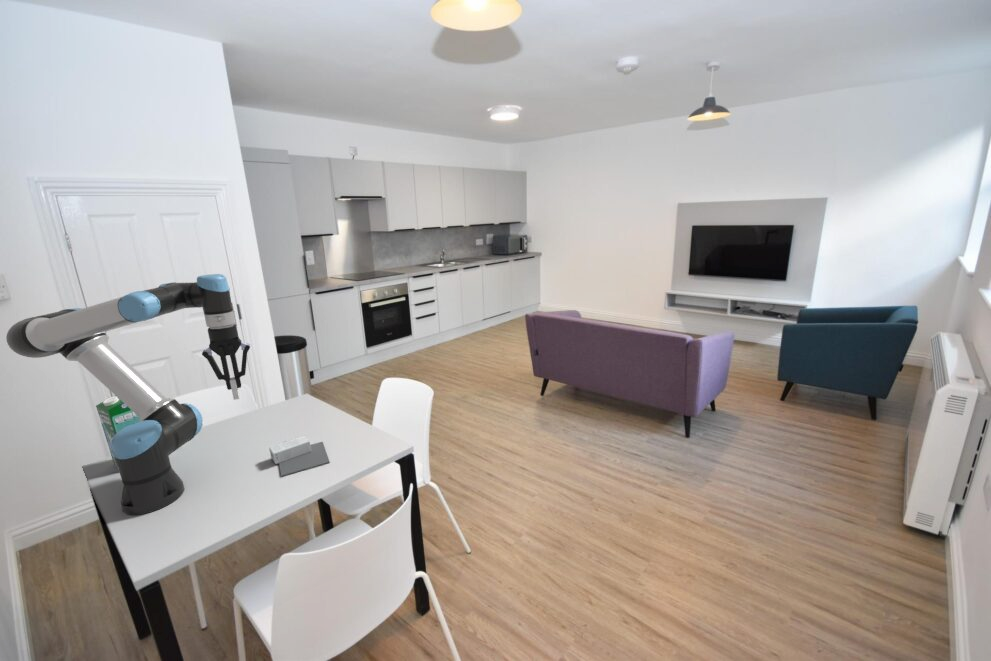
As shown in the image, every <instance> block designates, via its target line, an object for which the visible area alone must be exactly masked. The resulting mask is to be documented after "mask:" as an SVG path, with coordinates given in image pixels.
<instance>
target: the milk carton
mask: <svg viewBox="0 0 991 661" xmlns="http://www.w3.org/2000/svg"><path fill="white" fill-rule="evenodd" d="M95 407H96V410H97V415H98V418H99V420H100V424H101V427H102V430H103V433H104V436H105V438H106V439H105V440H106V442H107V446H108V449H109V454H110V456H111V459H112V463H113V465H115V466H116V467H118V466H117V463H116V460H115V457H114V455H113V453H112V444H111V442H112V439H113V437H114V436H115V434H116V433H118V432H119V431H120V430H122V429H123V428H125V427H127V426H129V425H133V424H135V423H137V422H139V416H138V415H136V414H135V413H134V412H133V411H132V410H131V409H130V408H129V407H128V406H127V405H125V404H124V403H123V402H122V401H121V400H120V399H119V398H118V397H117V396H116V395H113V396H111V397H108V398H106V399H104V401H102V402H100V403H98V404H97V405H95Z"/></svg>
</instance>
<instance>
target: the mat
mask: <svg viewBox="0 0 991 661" xmlns="http://www.w3.org/2000/svg"><path fill="white" fill-rule="evenodd" d="M310 446H311V452H308V453H305V454H303V455H300V456H297V457H294V458H292V459H289V460H286V461H283V462H281V463H278V464H279V470H280V477H281V478H284V477H286V476H290V475H294V474H297V473H300V472H303V471H308V470H310V469H315V468H317V467H321V466H323V465H328V464H330V463H331V462H330V459H329V456H328V454H327V451H326V447H325V445H324V442H323V441H320V442H315V443H313V444H311V443H310Z"/></svg>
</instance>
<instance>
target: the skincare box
mask: <svg viewBox="0 0 991 661" xmlns="http://www.w3.org/2000/svg"><path fill="white" fill-rule="evenodd" d="M310 445H311V442H310V440H309V439H308V438H307V437H306V436H305V435H302V436H299V437H296V438H293V439H290V440H287V441H284V442H281V443H278V444H275V445H272V446H269V447H268V448H269V453H270V458H271V459H272V460H273V462H274V464H275V465H277V464H279V463H281V462H283V461H286V460H289V459H292V458H294V457H297V456H300V455H303V454H305V453H308V452H311V446H310Z"/></svg>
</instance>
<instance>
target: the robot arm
mask: <svg viewBox="0 0 991 661" xmlns="http://www.w3.org/2000/svg"><path fill="white" fill-rule="evenodd" d="M231 298H232V297H231V292H230V287H229V283H228V280H227V277H226V275H224V274H222V273H214V274H202V275H199V276H197V277H196V281H194V282H173V281H172V282H168V283H162V284H160V285H159V286H157V287H155V288H149V289H145V290H139V291H138V290H137V291H133V292H129V293H127V294H125V295H123V296H120V297H117V298H113V299H111V300H107V301H103V302H100V303H96V304H94V305H90V306H87V307H84V308H81V307H73V308H66V309H65V308H64V309H62V310H59V311H55V312H51V313H47V314H43V315H42V314H41V315H37V316H31V317H28V318H25V319H22V320H20V321H18V322H16V323H14V324H13V325H12V326H11V327H10V328H9V329H8V331H7V333H6V337H5V338H6V343H7V346H8V347H9V348H10V349H11V351H13V352H14V353H16V354H18V355H20V356H23V357H26V358H32V359H34V358H37V359H39V358H45V357H49V356H55V355H58V354H60V355H62V357H64V358H65V360H67V361H69V362H70V361H71V362H78V363H79V364H81V365H82V367H83V368H85V369H86V370H87V371H88V372H89V373H91V375H93V376H94V377H95V378H96V379H97V380H98V381H99V382H100V383H101V384H103V385H104V387H106V388H107V389H108V391H110V392H111V393H112V394H113V396H115V395H116V396H117V397H118V398H119V399H120V400H121V401H122V402H123V403H124V404H125V405H127V406H128V407H129V408H130V409H131V410H132V411H133V412H134V413H135V414H136V415H138V416H139V422H137V423H135V424H133V425H129V426H127V427H125V428H123V429H122V430H120V431H119V432H118V433H116V434H115V436H114V437H113V439H112V442H111V444H112V453H113V455H114V457H115V460H116V463H117V466H116V467H117V469H118V473H119V475H120V479H121V481H122V492H121V500H120V506H121V508H122V509H121V510H122V511H123V513H124V514H126V515H130V516H137V515H138V516H139V515H143V514H149V513H151V512H155V511H158V510H160V509H162V508H165V507H167V506H169V505H171V504H172V503H174V502H175V501H176V500H178V499H179V498H181V496H182V495H183V494H184V493H185V485H184V482H183V480H182V478H181V477H180V476H179V475H178V474H177V473H176V471H175V470H174V468H173V467H172V464H171V461H170V455H172V453H174V452H176V451H177V450H178V449H180V448H181V447H182V446H183V445H186V444H187V443H189V442H190V441H191V440H193V439H194V438H195V436H197V435H198V434H199V433H200V432H201V430H202V428H203V421H204V420H203V416H202V413H201V411H200V410H199V409H198V408H197V407H196V406H194V405H193V404H191V403H180V402H179V401H178V400H176V399H175V398H167V397H165V396H164V395H163V394H162V393H161V392H160V391H159V390H158V389H157V388H156V387H155V386H153V385H152V384H151V382H150V381H148V380H147V379H146V378H145V377H144V376H143V375H142V374H141V372H139V371H137V369H135V368H134V367H133V365H131V364H130V363H129V362H128V361H127V360H126V359H125V358H124V357H123V356H122V355H121V354H120V353H119V352H117V351H116V350H115V349H114V348H113V347H112V346H111V345H110V344H109V339H110V338H109V336H108V334H107V332H109V331H112V330H115V329H119V328H122V327H123V328H124V327H126V326H130V325H132V324H136V323H140V322H145V321H146V322H147V321H148V320H152V319H155V318H156V317H160V316H164V315H167V314H170V313H174V312H177V311H179V310H180V311H181V310H184V309H189V308H190V309H191V308H192V309H193V308H202V310H203V311H202V312H203V315H204V320H205V324H206V325H205V326H206V327H207V334H208V338H209V345H208V347H207V348H206V349H204V350H202V351H201V352H202V353H201V355H202V356H203V357H204V358H205V359H206V360H207V362H208V363H209V366H210V367H211V369H212V371H213V373H214V374H215V376H216V378H217V380H219V381H221V380H223V381H225V385H226V389H227V390H229V391H230V390H231V393H232V398H233V400H234V401H237V400H239V399H240V392H239V389H240V388H241V387H242V381H241V377H244V376H245V375H246V371H247V370H246V369H247V359H248V352H249V350H250V348H251V344H250V343H245V342H242V340H241V338H240V337H239V333H238V329H237V328H238V327H237V325H236V322H237V321H236V318H235V317H236V316H235V312H234V309H233V304H232V299H231ZM240 347H241V351H242V358H241V368H240V369H241V370H240V369H239V367H238V365H239V364H238V362H237V357H236V353H237V352H238V351H239V349H240ZM213 353H214V354H216V355H217V356H219V357H220V362H221V366H222V371H223V373H222V371H221V369H220V367H219V365H218V363H217V361H216V360H215V358H214V356H213ZM227 356H229V358H230V362H231V366H232V372H233V377H231V375H230V369H229V365H228V364H229V363H228V361H227ZM239 370H240V371H239Z"/></svg>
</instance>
